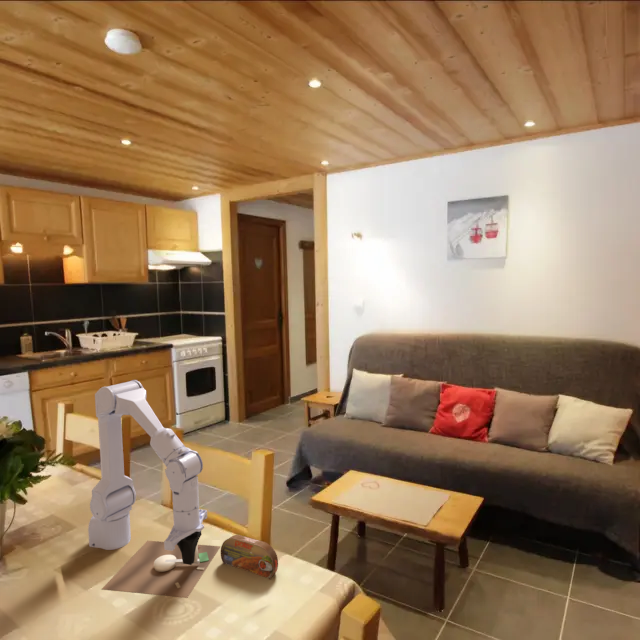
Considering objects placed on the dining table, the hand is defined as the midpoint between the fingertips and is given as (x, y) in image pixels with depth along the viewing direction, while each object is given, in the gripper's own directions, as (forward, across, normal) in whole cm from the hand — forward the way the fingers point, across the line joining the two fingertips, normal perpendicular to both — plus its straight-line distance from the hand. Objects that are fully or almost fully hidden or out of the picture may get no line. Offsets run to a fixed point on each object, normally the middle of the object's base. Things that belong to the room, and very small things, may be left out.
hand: (188, 562), depth 106 cm
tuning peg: (+2, +1, +4) cm, 4 cm away
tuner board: (+3, 0, +6) cm, 7 cm away
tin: (+4, +5, -13) cm, 14 cm away
